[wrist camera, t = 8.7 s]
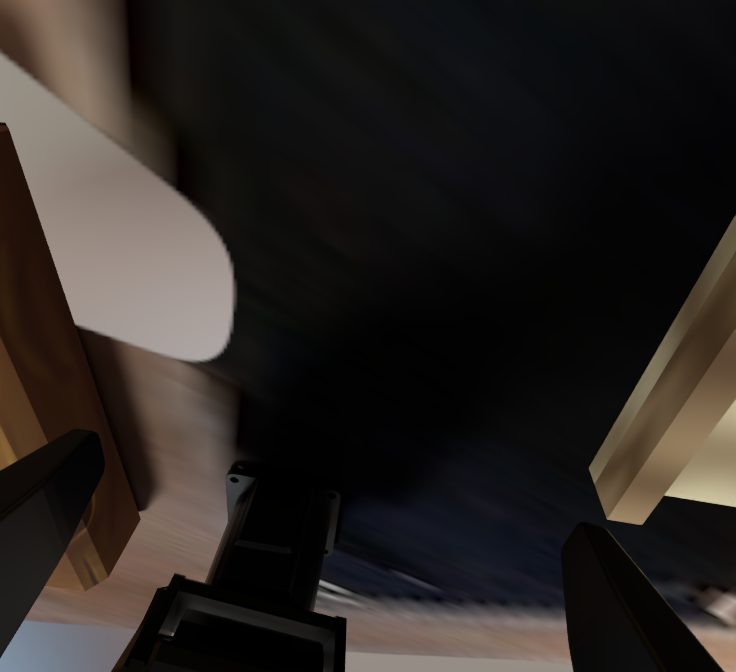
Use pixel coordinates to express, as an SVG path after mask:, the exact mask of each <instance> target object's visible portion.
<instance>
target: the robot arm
mask: <svg viewBox="0 0 736 672" xmlns="http://www.w3.org/2000/svg"><path fill="white" fill-rule="evenodd" d="M104 470H105V457H104V452H103V448H102V443H101V438H100V435H99V434H98V433H97V432H94V431H88V430H83V429H73V430H71V431H69V432H67V433H65V434H63V435H62V436H60V437H58V438H56V439H55V440H53V441H51V442H49V443H47V444H46V445H44V446H42V447H40V448H39V449H37V450H35V451H33V452H32V453H30V454H28V455H26V456H25V457H23V458H21V459H19V460H18V461H16V462H14V463H12V464H11V465H9V466H7V467H5V468H4V469H2V470H0V658H1V656H2V654H3V653H4V651H5V649H6V648H7V646H8V645H9V643H10V641H11V640H12V638H13V637H14V635H15V633H16V631H17V630H18V628H19V627H20V625H21V624H22V622H23V620H24V619H25V617H26V615H27V614H28V612H29V611H30V609H31V607H32V606H33V604H34V602H35V601H36V599H37V598H38V596H39V594H40V593H41V591H42V589H43V588H44V586H45V585H46V583H47V581H48V580H49V578H50V576H51V575H52V573H53V572H54V570H55V568H56V567H57V565H58V563H59V562H60V560H61V558H62V556H63V555H64V553H65V551H66V549H67V547H68V545H69V543H70V542H71V540H72V538H73V535H74V533H75V531H76V529H77V527H78V525H79V523H80V521H81V519H82V517H83V515H84V513H85V511H86V508H87V506H88V504H89V502H90V500H91V498H92V496H93V494H94V492H95V490H96V488H97V486H98V484H99V482H100V479H101V477H102V475H103V473H104ZM226 493H227V508H228V524H227V526H226V529H225V531H224V534H223V537H222V539H221V542H220V544H219V547H218V550H217V552H216V555H215V557H214V560H213V563H212V565H211V568H210V570H209V573H208V576H207V578H206V581H205V583H202V582H198V581H194V580H191V579H187V578H186V576H184V575H180V574H176V573H175V574H174V576H173V578H172V580H171V582H170V583H169V585H168V586H167V587H162V588H158V589H157V591H156V593H155V595H154V597H153V600H152V602H151V604H150V606H149V608H148V610H147V612H146V615H145V617H144V619H143V621H142V622H141V624H140V626H139V628H138V630H137V631H136V633H135V634H134V636H133V638H132V639H131V641H130V642H129V644H128V646H127V647H126V649H125V650H124V652H123V653H122V655H121V657H120V658H119V660H118V661H117V663H116V665H115V666H114V668H113V669H112V671H111V672H345V652H346V622H347V619H346V618H343V617H339V616H335V617H331V616H327V615H323V614H319V613H316V612H314V607H315V602H316V596H317V591H318V586H319V580H320V575H321V569H322V564H323V559H324V556H330V555H332V552H333V547H334V540H335V533H336V526H337V520H338V513H339V506H340V499H341V493H342V490H341V488H340V487H339V486H337V485H334V484H328V483H322V482H316V481H310V480H304V479H298V478H291V477H285V476H279V475H273V474H267V473H261V472H255V471H249V470H243V469H236V468H233V469H230V470H229V471H228V473H227V476H226ZM561 564H562V576H563V587H564V599H565V611H566V623H567V633H568V642H569V649H570V655H571V661H572V666H573V671H574V672H724V671H723V669H722V668H721V667H720V666H719V665H718V663H717V662H716V661H715V660H714V659H713V657H712V656H711V655H710V654H709V652H708V651H707V650H706V649H705V648H704V646H703V645H702V644H701V643H700V642H699V640H698V639H697V638H696V637H695V636H694V634H693V633H692V632H691V631H690V629H689V628H688V627H687V626H686V625H685V623H684V622H683V621H682V620H681V619H680V617H679V616H678V615H677V614H676V612H675V611H674V610H673V609H672V608H671V606H670V605H669V604H668V603H667V602H666V600H665V599H664V598H663V597H662V596H661V594H660V593H659V592H658V591H657V589H656V588H655V587H654V586H653V585H652V583H651V582H650V581H649V580H648V579H647V577H646V576H645V575H644V574H643V572H642V571H641V570H640V569H639V568H638V566H637V565H636V564H635V563H634V562H633V560H632V559H631V558H630V557H629V556H628V554H627V553H626V552H625V551H624V549H623V548H622V547H621V546H620V545H619V543H618V542H617V541H616V540H615V539H614V537H613V536H612V535H611V534H610V532H609V531H608V530H607V529H606V528H605V527H603V526H601V525H598V524H592V523H587V522H581V523H579V524H578V525H577V526H576V528H575V529H574V530H573V532H572V533H571V535H570V536H569V538H568V539H567V541H566V542H565V544H564V546H563V548H562V552H561ZM172 632H173V633H174V636H171V635H172Z"/></svg>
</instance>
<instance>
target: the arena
mask: <svg viewBox="0 0 736 672" xmlns="http://www.w3.org/2000/svg"><path fill="white" fill-rule="evenodd" d="M589 470H590V473H591V476H592V478H593V481H594V484H595V487H596V490H597V492H598V495H599V498H600V501H601V504H602V506H603V509H604V512H605V515H606V518H607V519H608V520H615V521H621V522H627V523H633V524H639V525H642V524H643V523H644V521H645V520H646V519H647V517H648V516H649V515H650V513H651V512H652V511H653V509H654V508H655V507H656V505H657V504H658V503H659V501H660V500H661V499H662V497H663V496H664V495H666V496H672V497H678V498H684V499H691V500H697V501H703V502H709V503H715V504H721V505H727V506H734V507H736V215H735V217H734V218H733V220H732V222H731V223H730V225H729V227H728V229H727V230H726V232H725V234H724V236H723V237H722V239H721V241H720V242H719V244H718V246H717V248H716V249H715V251H714V253H713V255H712V256H711V258H710V260H709V261H708V263H707V265H706V267H705V268H704V270H703V272H702V273H701V275H700V277H699V279H698V280H697V282H696V284H695V286H694V287H693V289H692V291H691V292H690V294H689V296H688V298H687V299H686V301H685V303H684V305H683V306H682V308H681V310H680V311H679V313H678V315H677V317H676V318H675V320H674V322H673V324H672V325H671V327H670V329H669V330H668V332H667V334H666V336H665V337H664V339H663V341H662V343H661V344H660V346H659V348H658V349H657V351H656V353H655V355H654V356H653V358H652V360H651V362H650V363H649V365H648V367H647V368H646V370H645V372H644V374H643V375H642V377H641V379H640V381H639V382H638V384H637V386H636V387H635V389H634V391H633V393H632V394H631V396H630V398H629V399H628V401H627V403H626V405H625V406H624V408H623V410H622V412H621V413H620V415H619V417H618V418H617V420H616V422H615V424H614V425H613V427H612V429H611V431H610V432H609V434H608V436H607V437H606V439H605V441H604V443H603V444H602V446H601V448H600V450H599V451H598V453H597V455H596V456H595V458H594V460H593V462H592V463H591V465H590V467H589Z"/></svg>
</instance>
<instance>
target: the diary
mask: <svg viewBox="0 0 736 672" xmlns="http://www.w3.org/2000/svg"><path fill="white" fill-rule="evenodd" d="M73 429H83V430H88V431H94V432H97V433H98V434H99V435H100V438H101V443H102V448H103V452H104V457H105V470H104V473H103V475H102V477H101V479H100V482H99V484H98V486H97V488H96V490H95V492H94V494H93V496H92V498H91V500H90V502H89V504H88V506H87V508H86V511H85V513H84V515H83V517H82V519H81V521H80V523H79V525H78V527H77V529H76V531H75V533H74V535H73V538H72V540H71V542H70V543H69V545H68V547H67V549H66V551H65V553H64V555H63V556H62V558H61V560H60V562H59V563H58V565H57V567H56V568H55V570H54V572H53V573H52V575H51V576H50V578H49V580H48V581H47V583H46V585H45V586H49V587H57V588H64V589H72V590H79V591H86V590H88V589H90V588H91V587H93V586H95V585H96V584H98V583H100V582H101V581H103V580H105V579H106V578H108V577H109V575H110V573H111V572H112V570H113V568H114V566H115V564H116V563H117V561H118V559H119V557H120V555H121V554H122V552H123V550H124V548H125V546H126V545H127V543H128V541H129V539H130V537H131V536H132V534H133V532H134V530H135V529H136V527H137V525H138V523H139V521H140V520H141V519H140V516H139V513H138V510H137V507H136V504H135V501H134V498H133V495H132V492H131V489H130V486H129V483H128V480H127V477H126V474H125V472H124V469H123V466H122V463H121V460H120V457H119V454H118V451H117V448H116V445H115V442H114V439H113V436H112V433H111V430H110V427H109V424H108V421H107V418H106V415H105V412H104V409H103V406H102V403H101V400H100V398H99V395H98V392H97V389H96V386H95V383H94V380H93V377H92V374H91V371H90V368H89V365H88V362H87V359H86V356H85V353H84V350H83V347H82V344H81V341H80V338H79V335H78V332H77V329H76V327H75V324H74V321H73V318H72V315H71V312H70V309H69V306H68V303H67V300H66V297H65V294H64V291H63V288H62V285H61V282H60V279H59V276H58V273H57V270H56V267H55V264H54V261H53V258H52V255H51V253H50V250H49V247H48V244H47V241H46V238H45V235H44V232H43V229H42V226H41V223H40V220H39V217H38V214H37V211H36V208H35V205H34V202H33V199H32V197H31V194H30V190H29V188H28V185H27V182H26V179H25V176H24V173H23V170H22V167H21V164H20V161H19V158H18V155H17V152H16V149H15V146H14V143H13V140H12V137H11V134H10V131H9V129H8V127H7V125H6V123H3V122H0V470H2V469H4V468H5V467H7V466H9V465H11V464H12V463H14V462H16V461H18V460H19V459H21V458H23V457H25V456H26V455H28V454H30V453H32V452H33V451H35V450H37V449H39V448H40V447H42V446H44V445H46V444H47V443H49V442H51V441H53V440H55V439H56V438H58V437H60V436H62V435H63V434H65V433H67V432H69V431H71V430H73Z"/></svg>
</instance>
